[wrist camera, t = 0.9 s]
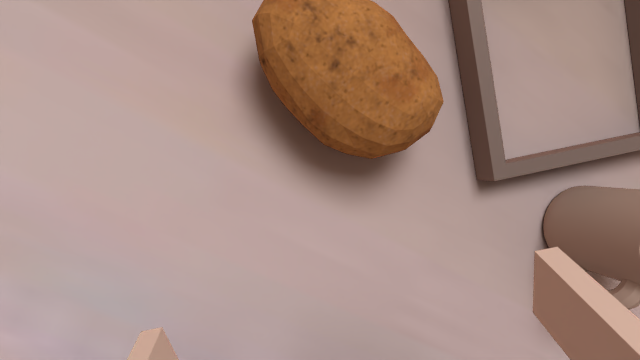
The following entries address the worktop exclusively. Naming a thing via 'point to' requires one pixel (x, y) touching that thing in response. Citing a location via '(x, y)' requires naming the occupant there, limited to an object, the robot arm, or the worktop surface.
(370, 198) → the worktop surface
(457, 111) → the worktop surface
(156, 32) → the worktop surface
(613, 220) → the cup
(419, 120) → the potato
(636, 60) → the tray
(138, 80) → the worktop surface
